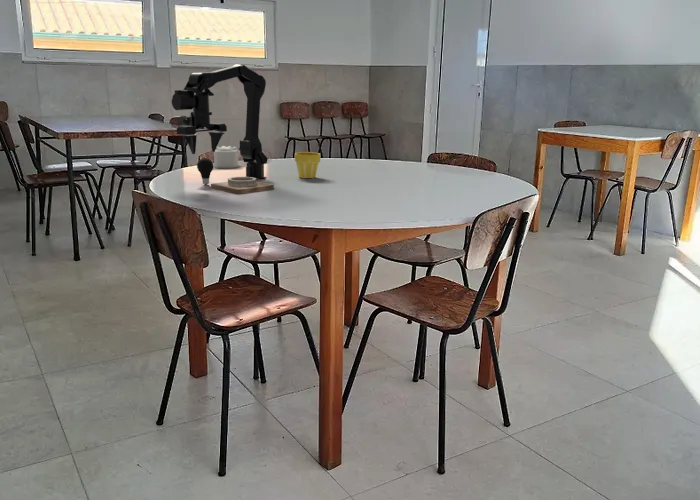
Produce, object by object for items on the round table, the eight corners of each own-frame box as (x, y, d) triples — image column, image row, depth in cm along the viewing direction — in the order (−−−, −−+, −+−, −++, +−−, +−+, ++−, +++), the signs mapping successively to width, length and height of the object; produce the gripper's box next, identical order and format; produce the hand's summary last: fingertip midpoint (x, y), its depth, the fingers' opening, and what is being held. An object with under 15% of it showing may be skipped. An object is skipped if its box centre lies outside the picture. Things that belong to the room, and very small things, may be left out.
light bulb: (210, 186, 228) (209, 159, 226) (195, 186, 230) (193, 158, 227) (216, 184, 234) (215, 157, 231) (201, 183, 235) (200, 156, 232)
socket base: (246, 183, 238) (246, 174, 237) (273, 188, 227) (273, 179, 226) (210, 187, 226) (210, 178, 225) (238, 194, 216) (237, 184, 215)
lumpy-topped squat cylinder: (213, 167, 276) (212, 147, 274) (216, 163, 288) (215, 144, 286) (237, 167, 277) (236, 148, 275) (238, 163, 290) (238, 145, 287)
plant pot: (325, 178, 254) (325, 154, 251) (303, 180, 248) (303, 155, 245) (311, 174, 262) (311, 151, 259) (289, 176, 256) (289, 152, 253)
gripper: (206, 107, 236) (209, 148, 240) (165, 109, 222) (168, 153, 226) (226, 108, 229) (228, 151, 234) (185, 110, 215) (188, 156, 220)
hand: (203, 152), depth 228 cm, fingers open, 9 cm apart
